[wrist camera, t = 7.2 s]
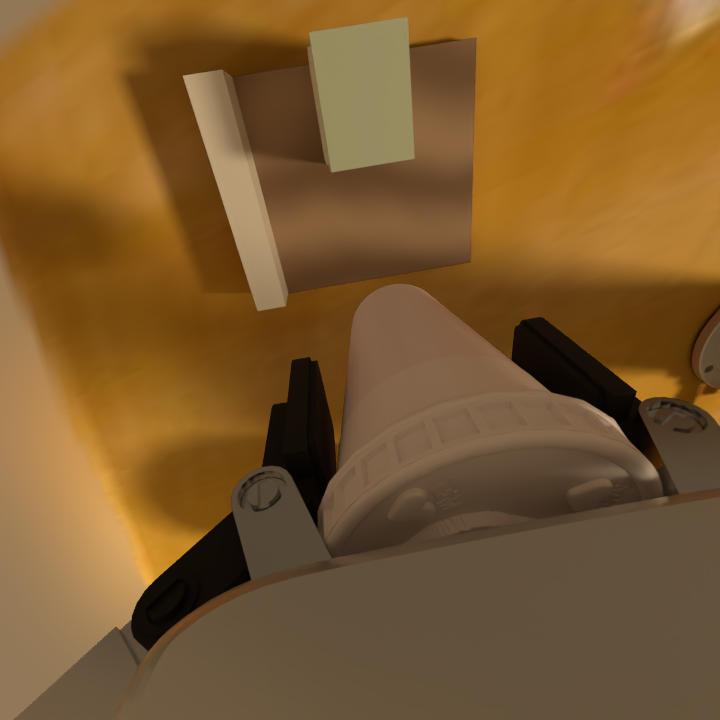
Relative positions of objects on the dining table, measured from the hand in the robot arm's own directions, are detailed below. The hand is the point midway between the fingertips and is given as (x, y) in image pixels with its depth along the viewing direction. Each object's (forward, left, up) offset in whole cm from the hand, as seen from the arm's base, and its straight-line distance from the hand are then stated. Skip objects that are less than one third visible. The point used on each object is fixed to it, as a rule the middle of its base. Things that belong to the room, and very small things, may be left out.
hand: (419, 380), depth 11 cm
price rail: (+4, +7, -18) cm, 20 cm away
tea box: (+8, -1, -17) cm, 19 cm away
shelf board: (+4, 0, -18) cm, 18 cm away
